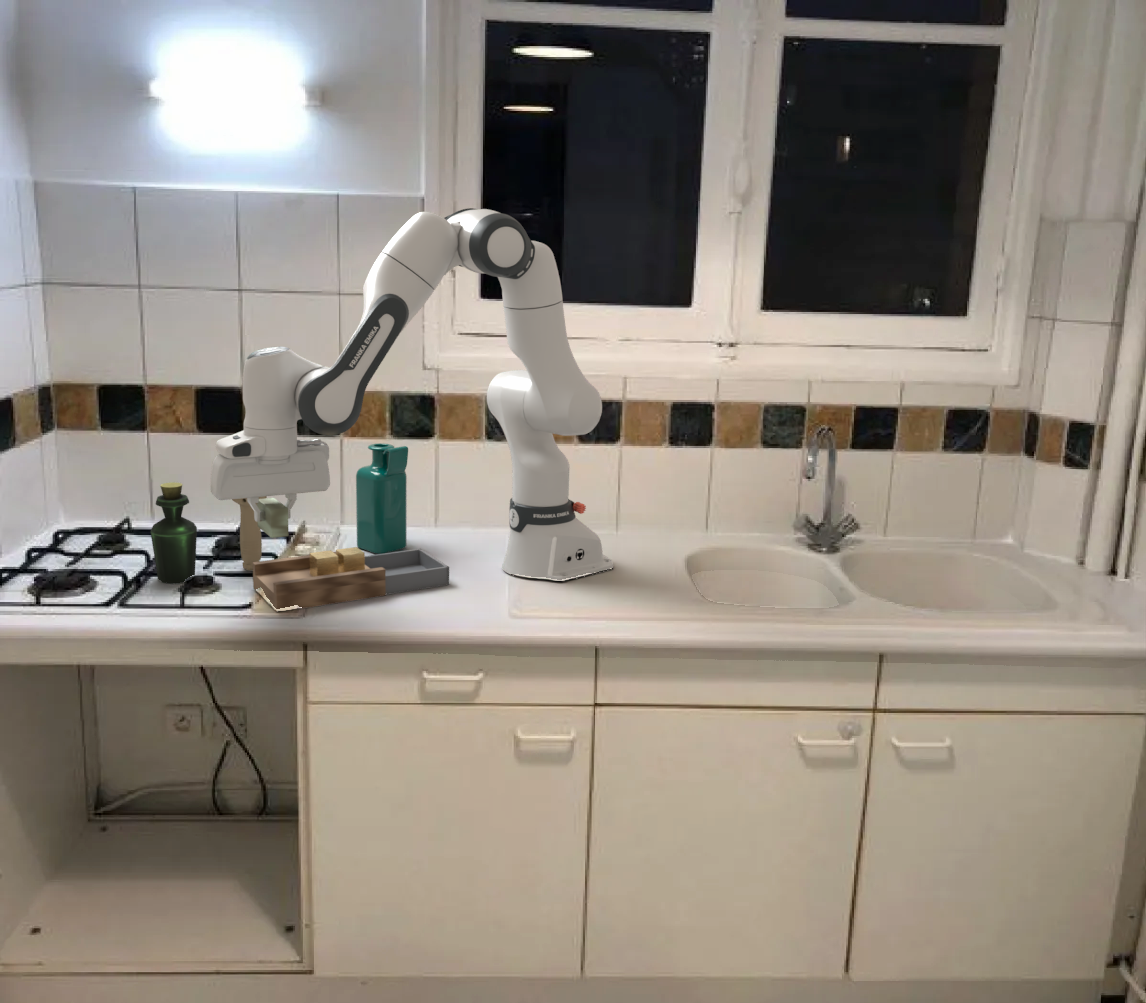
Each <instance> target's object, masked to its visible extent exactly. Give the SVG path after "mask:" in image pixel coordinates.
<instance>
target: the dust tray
mask: <svg viewBox="0 0 1146 1003" xmlns="http://www.w3.org/2000/svg"><path fill="white" fill-rule="evenodd" d="M365 565H366V566H368V567H369V568H370V569H372V568H379V567H383V568H384V569H385V586H386V595H392V594H397V593H405V592H411V591H417V590H423V589H429V588H430V589H431V588H436V587H437V588H438V587H443V586H449V585H450V566H448V565H447V564H446V563H444V562H442V561H441V560H439V559H437V558H436V557H435V556H433V555H431V554H430V553H429V552H427V551H425V550H423V549H422V548H416V549H407V550H401V551H399V550H398V551H392V552H388V553H384V554H371V555H370V554H369V555H365Z"/></svg>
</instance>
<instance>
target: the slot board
mask: <svg viewBox="0 0 1146 1003" xmlns="http://www.w3.org/2000/svg"><path fill="white" fill-rule="evenodd" d="M333 552H334V553H335V554H336V551H333ZM252 582H253V583H252V584H253V586H252V587H253V589H254V591H256V589H258V588H260V587H261V588H262V589H263V591H264V593H265V595H266V597H267V598H268V599H269V600H270V602H271V603H272V604H273V606H274V607H275V608H276V609H280V608H285V607H290V606H294V605H298V606H299V607H302V609H307V608H314V607H319V606H320V607H321V606H327V605H334V604H340V603H347V602H352V601H359V600H365V599H373V598H379V597H385V596H386V595H387V594H386V586H385V569H384V568H383V567H379V568H372V569H370V568H369V567H368V566H366V565H365V570H358V571H351V572H344V573H337V574H330V575H323V576H315V577H313V576H312V575H311V574H310V554H308V555H299V556H298V555H297V556H290V557H284V558H276V559H269V560H262V561H261V560H260V561H259V562H253V570H252Z"/></svg>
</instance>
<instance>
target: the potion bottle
mask: <svg viewBox="0 0 1146 1003" xmlns="http://www.w3.org/2000/svg"><path fill="white" fill-rule="evenodd" d="M159 486H160V490H161V493H162V495H159V496H157V498H156V500H155V505H156V506H158V507H161V509H162V512H163V515H164V517H163V518H162V519H161V520H159V521H157V522H155V523H154V524H153V525H152V527H151V529H150V538H151V543H152V550H153V557H154V561H155V562H154V563H155V568H156V576H157V580H158V581H159V582H161V583H163V584H171V585H174V584H175V585H176V584H177V585H178V584H183V582H184V581H185V579H187V578H188V577H190V576H192V575H195V576H196V561H197V560H196V559H197V558H196V557H197V536H198V535H197V534H198V530H197V529H198V526H196V524H195V522H193V521H191V520H189V519H187V518H185V517H182V515H183V510H184V507H185V506H186V505H188V504H190V500H189V497H188V496H187V495H186V494H183V493H182V489H183V483H181V482H175V481H174V482H165V483H161V484H160V485H159Z"/></svg>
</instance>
